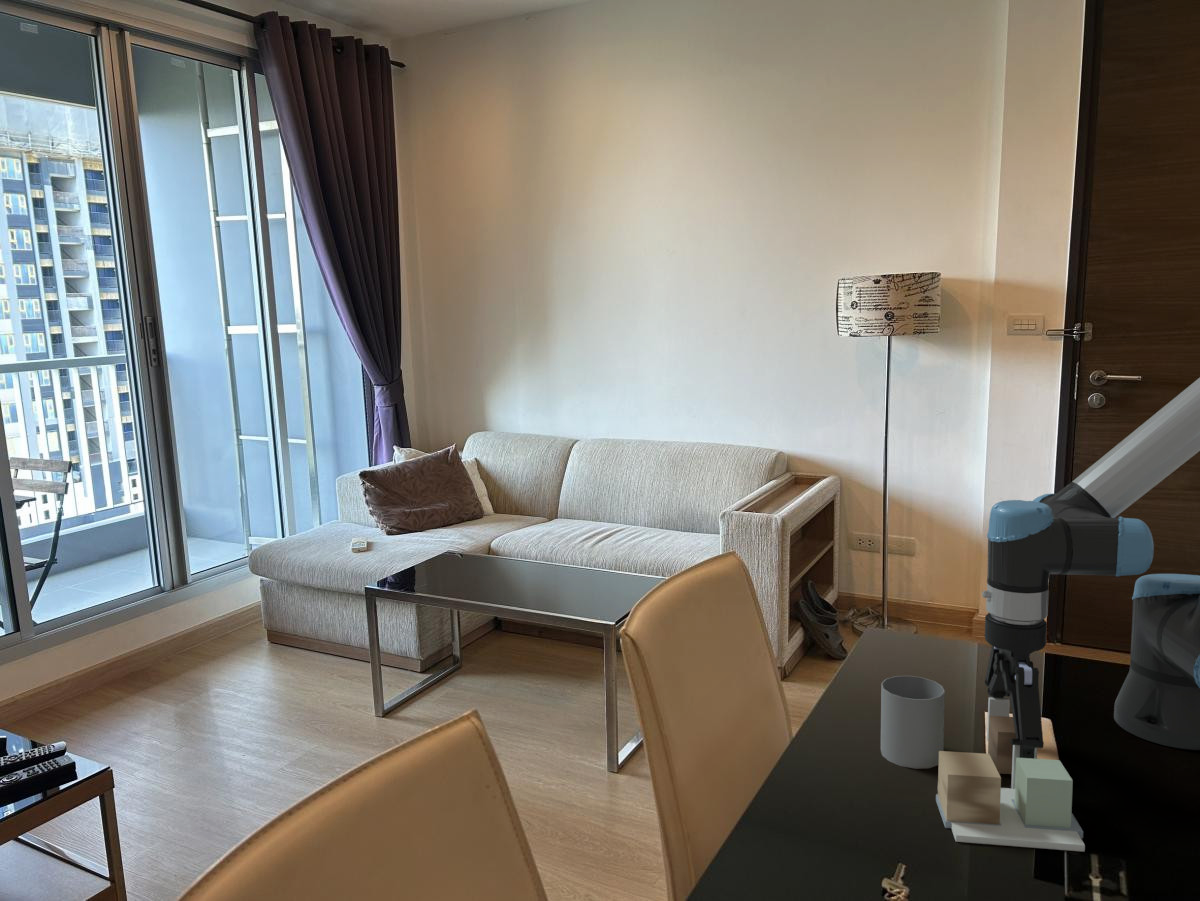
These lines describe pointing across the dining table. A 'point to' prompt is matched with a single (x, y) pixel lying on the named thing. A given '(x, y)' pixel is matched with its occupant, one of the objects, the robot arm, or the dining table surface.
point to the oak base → (969, 787)
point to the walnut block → (1001, 742)
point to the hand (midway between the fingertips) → (1009, 764)
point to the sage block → (1043, 792)
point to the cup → (912, 721)
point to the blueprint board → (1016, 829)
